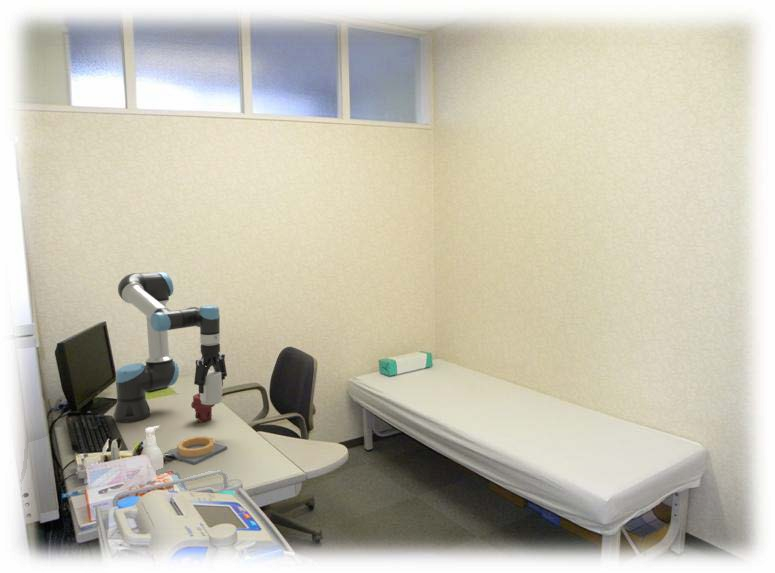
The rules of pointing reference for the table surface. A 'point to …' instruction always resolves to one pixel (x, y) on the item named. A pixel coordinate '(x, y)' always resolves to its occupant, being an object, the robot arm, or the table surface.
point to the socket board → (200, 458)
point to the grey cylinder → (213, 388)
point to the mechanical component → (201, 409)
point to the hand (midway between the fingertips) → (211, 397)
